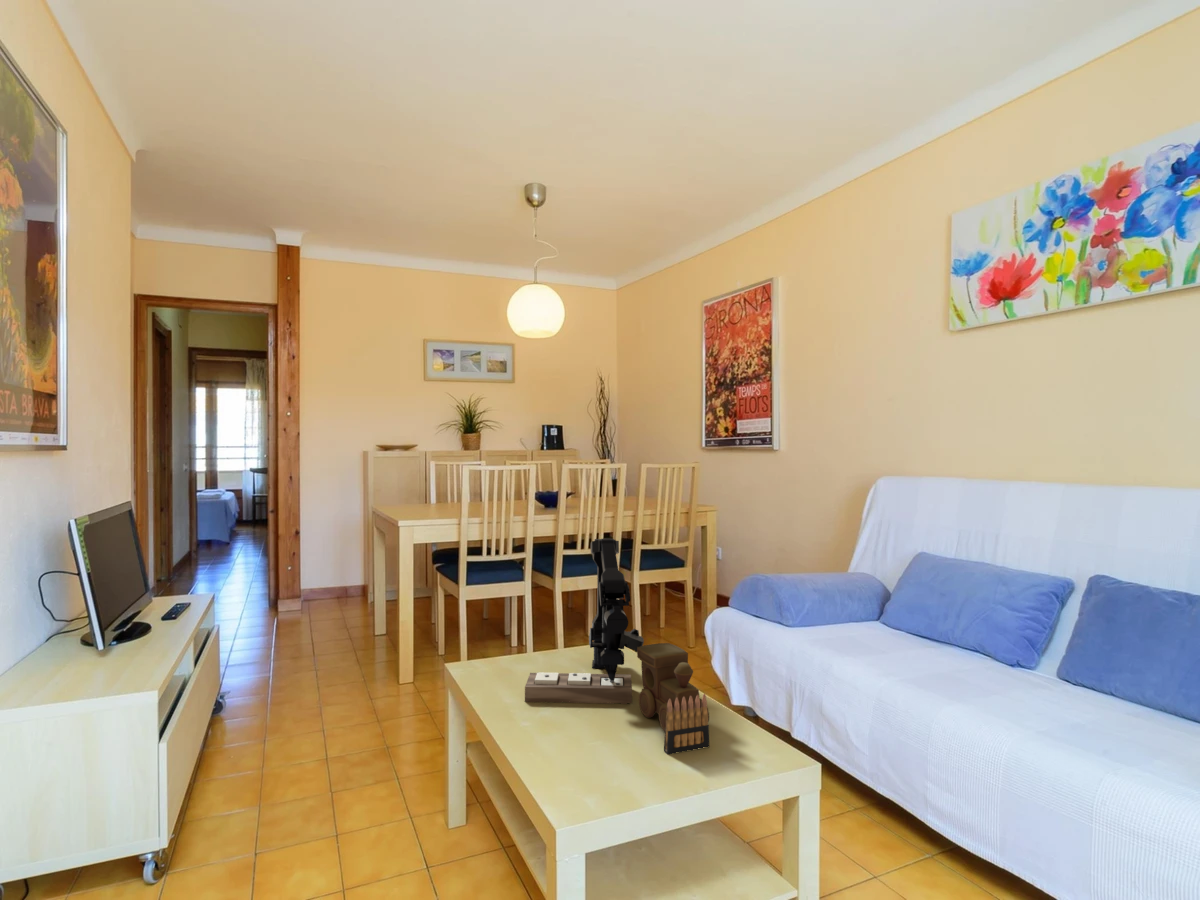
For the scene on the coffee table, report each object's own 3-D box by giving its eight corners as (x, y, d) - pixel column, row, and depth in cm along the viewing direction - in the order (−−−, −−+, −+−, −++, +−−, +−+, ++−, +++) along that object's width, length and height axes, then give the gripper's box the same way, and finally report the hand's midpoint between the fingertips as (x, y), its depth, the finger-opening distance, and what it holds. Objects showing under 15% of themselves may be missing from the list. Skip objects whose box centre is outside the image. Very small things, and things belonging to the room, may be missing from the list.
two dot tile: (569, 682, 180) (569, 672, 180) (590, 682, 180) (590, 672, 180) (567, 690, 174) (567, 679, 174) (589, 690, 174) (590, 680, 174)
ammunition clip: (705, 743, 148) (705, 691, 148) (709, 747, 147) (710, 694, 147) (663, 750, 145) (664, 697, 145) (667, 754, 143) (667, 700, 143)
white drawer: (537, 681, 180) (537, 671, 180) (558, 682, 180) (558, 672, 180) (534, 689, 174) (534, 679, 174) (556, 689, 174) (556, 679, 174)
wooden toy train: (633, 710, 167) (633, 646, 168) (671, 703, 172) (671, 641, 172) (672, 741, 149) (673, 670, 149) (713, 733, 154) (714, 664, 154)
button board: (530, 686, 183) (530, 672, 183) (630, 688, 182) (630, 674, 182) (524, 701, 172) (524, 686, 172) (631, 703, 171) (632, 688, 171)
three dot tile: (601, 687, 180) (601, 677, 180) (622, 687, 180) (622, 677, 180) (600, 695, 174) (601, 685, 174) (623, 695, 174) (623, 685, 174)
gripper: (643, 633, 168) (642, 693, 168) (640, 615, 186) (640, 669, 186) (600, 632, 168) (600, 692, 168) (602, 614, 186) (601, 668, 186)
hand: (612, 680), depth 177 cm, fingers closed
